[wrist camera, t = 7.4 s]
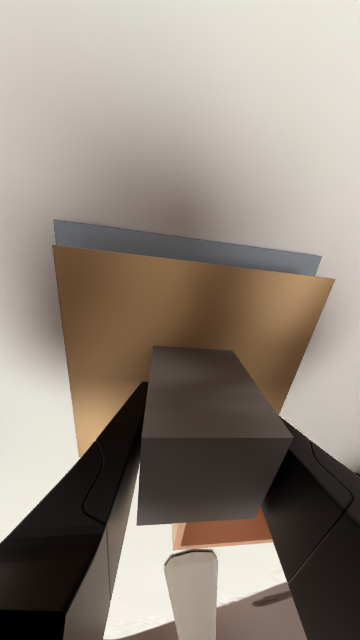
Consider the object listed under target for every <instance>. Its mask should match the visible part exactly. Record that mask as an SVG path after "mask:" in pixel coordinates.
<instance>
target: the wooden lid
mask: <svg viewBox="0 0 360 640" xmlns="http://www.w3.org/2000/svg"><path fill="white" fill-rule="evenodd" d="M52 247H53V255H54V263H55V271H56V279H57V287H58V295H59V303H60V311H61V319H62V327H63V334H64V342H65V350H66V358H67V366H68V374H69V382H70V390H71V398H72V406H73V414H74V422H75V430H76V438H77V445H78V453H79V457H82V456H83V454H84V453H85V452H86V451H87V450H88V448H89V447H90V446H91V445H92V443H93V442H94V441H96V438H97V437H98V436H99V435H100V433H101V432H102V431H103V430H104V428H105V427H106V426H107V425H108V423H109V422H110V421H111V420H112V418H113V417H114V416H115V415H116V413H117V412H118V411H119V410H120V408H121V407H122V406H123V405H124V403H125V402H126V401H127V400H128V398H129V397H130V396H131V394H132V393H133V392H134V391H135V389H136V388H137V387H138V386H139V384H140V383H141V382H143V381H145V382H149V383H148V391H147V399H146V407H145V415H144V423H143V431H142V441H141V458H140V476H139V493H138V511H137V526H139V525H156V524H173V523H190V522H207V521H223V520H240V519H255V517H256V515H257V513H258V510H259V508H260V506H261V504H262V502H263V500H264V498H265V496H266V494H267V492H268V490H269V488H270V486H271V484H272V482H273V480H274V478H275V475H276V473H277V471H278V469H279V467H280V465H281V463H282V461H283V459H284V457H285V455H286V453H287V451H288V449H289V447H290V445H291V443H292V440H293V438H294V437H293V436H292V434H291V433H290V431H289V430H288V429H287V427H286V426H285V424H284V423H283V422H282V420H281V419H280V417H279V416H278V415H279V413H280V411H281V408H282V406H283V404H284V401H285V399H286V396H287V394H288V392H289V389H290V387H291V384H292V382H293V380H294V377H295V375H296V372H297V370H298V368H299V365H300V363H301V360H302V358H303V356H304V353H305V351H306V348H307V346H308V344H309V341H310V339H311V336H312V334H313V332H314V329H315V327H316V324H317V322H318V320H319V317H320V315H321V312H322V310H323V308H324V305H325V303H326V300H327V298H328V296H329V293H330V291H331V288H332V286H333V284H334V281H335V279H330V278H323V277H316V276H307V275H299V274H291V273H283V272H274V271H266V270H258V269H250V268H241V267H233V266H225V265H217V264H208V263H200V262H192V261H184V260H175V259H167V258H159V257H151V256H143V255H134V254H126V253H118V252H110V251H101V250H93V249H85V248H77V247H68V246H58V245H52Z"/></svg>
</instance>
